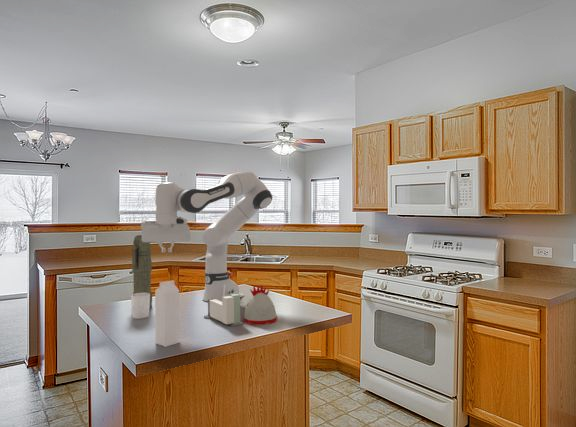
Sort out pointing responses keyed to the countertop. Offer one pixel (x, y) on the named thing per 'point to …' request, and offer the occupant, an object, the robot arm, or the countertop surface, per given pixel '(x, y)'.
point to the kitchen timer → (260, 308)
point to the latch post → (236, 310)
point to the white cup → (140, 305)
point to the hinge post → (208, 310)
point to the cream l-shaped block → (223, 309)
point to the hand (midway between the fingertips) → (166, 252)
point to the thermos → (142, 266)
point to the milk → (167, 314)
